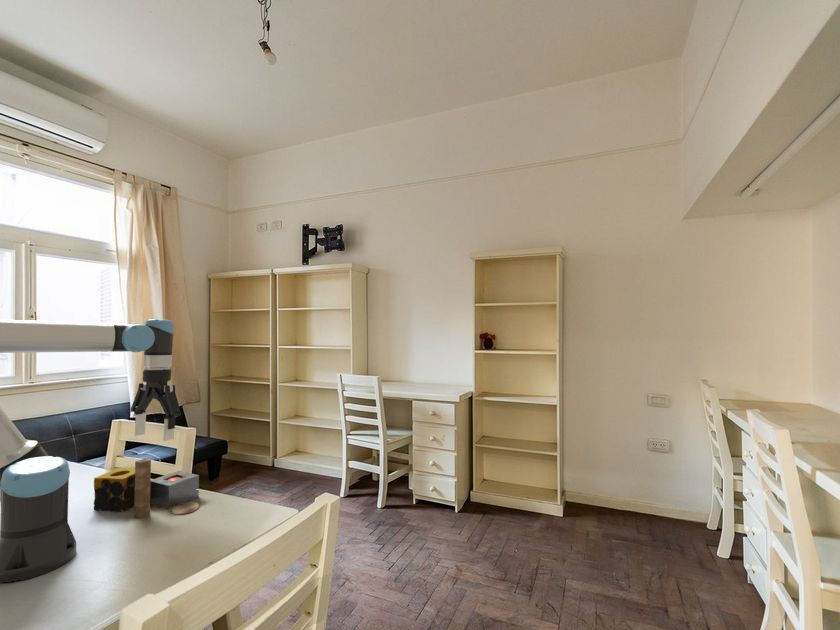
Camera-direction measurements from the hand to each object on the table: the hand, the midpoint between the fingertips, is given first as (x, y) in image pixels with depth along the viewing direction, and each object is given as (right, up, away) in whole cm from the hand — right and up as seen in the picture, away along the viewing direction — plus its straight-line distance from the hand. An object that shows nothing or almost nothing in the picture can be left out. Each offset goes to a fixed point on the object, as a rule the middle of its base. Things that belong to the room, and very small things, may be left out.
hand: (153, 437), depth 127 cm
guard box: (+3, -22, +5) cm, 22 cm away
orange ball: (+3, -19, +5) cm, 20 cm away
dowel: (+1, -21, -6) cm, 22 cm away
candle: (-11, -22, +2) cm, 25 cm away
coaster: (+11, -21, -2) cm, 24 cm away
